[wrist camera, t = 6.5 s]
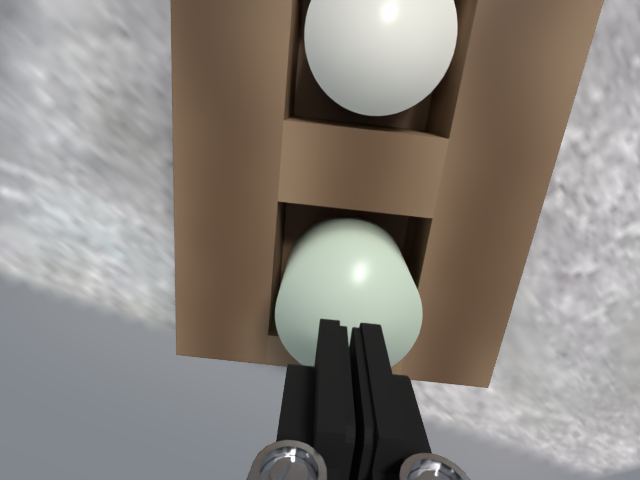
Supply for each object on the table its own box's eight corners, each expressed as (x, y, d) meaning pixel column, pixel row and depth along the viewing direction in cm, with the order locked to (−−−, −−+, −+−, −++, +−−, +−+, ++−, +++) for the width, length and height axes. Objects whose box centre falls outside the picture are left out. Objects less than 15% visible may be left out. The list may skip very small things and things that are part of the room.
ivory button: (440, -12, 16) (473, -45, 12) (417, 117, 18) (440, 123, 14) (316, -26, 16) (312, -63, 12) (305, 105, 18) (298, 107, 14)
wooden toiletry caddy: (518, -26, 20) (634, -102, 12) (442, 302, 26) (488, 388, 18) (231, -59, 20) (168, -157, 12) (222, 278, 26) (176, 355, 18)
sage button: (412, 221, 17) (436, 258, 13) (392, 326, 18) (408, 386, 15) (291, 208, 17) (280, 241, 13) (282, 315, 18) (270, 371, 15)
